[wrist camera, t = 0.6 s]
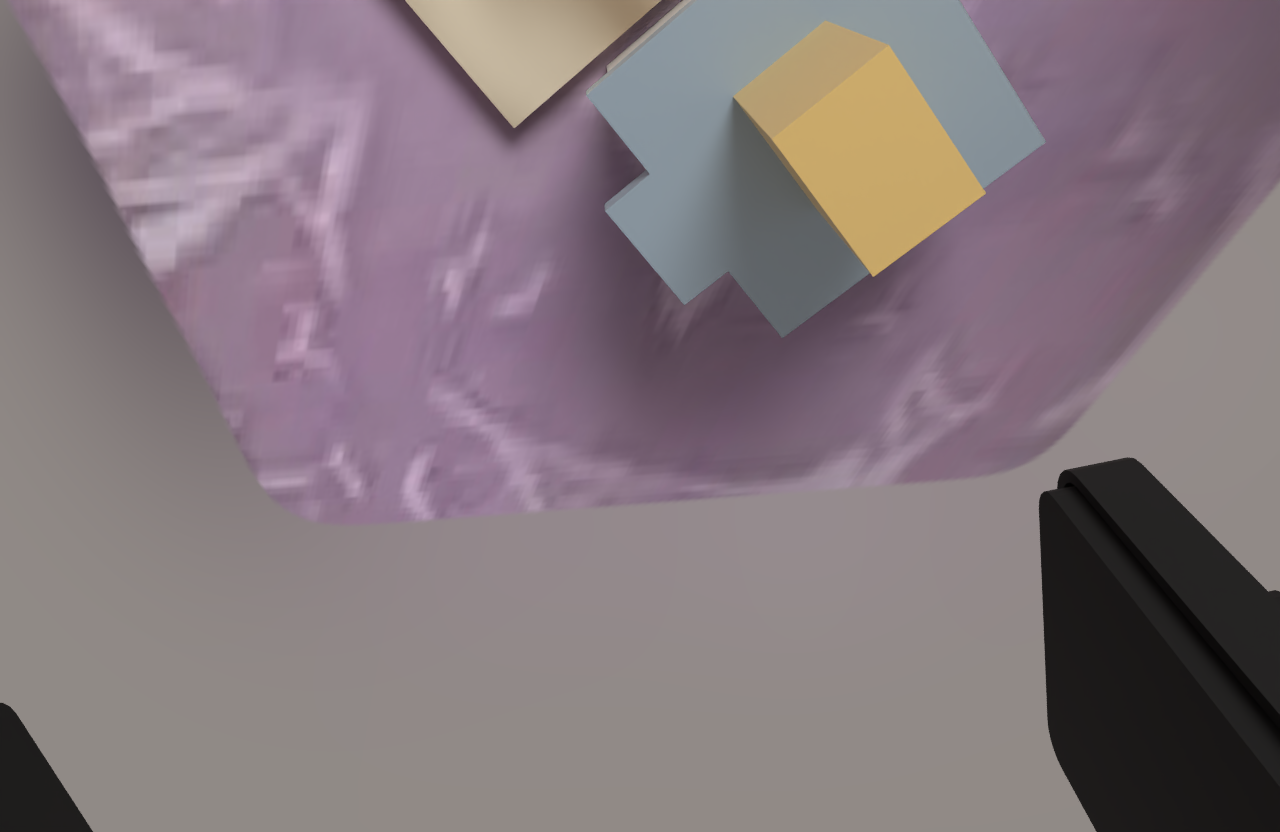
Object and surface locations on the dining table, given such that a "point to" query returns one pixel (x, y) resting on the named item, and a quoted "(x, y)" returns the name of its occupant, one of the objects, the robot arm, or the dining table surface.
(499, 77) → the board
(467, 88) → the dining table surface
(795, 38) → the lid
